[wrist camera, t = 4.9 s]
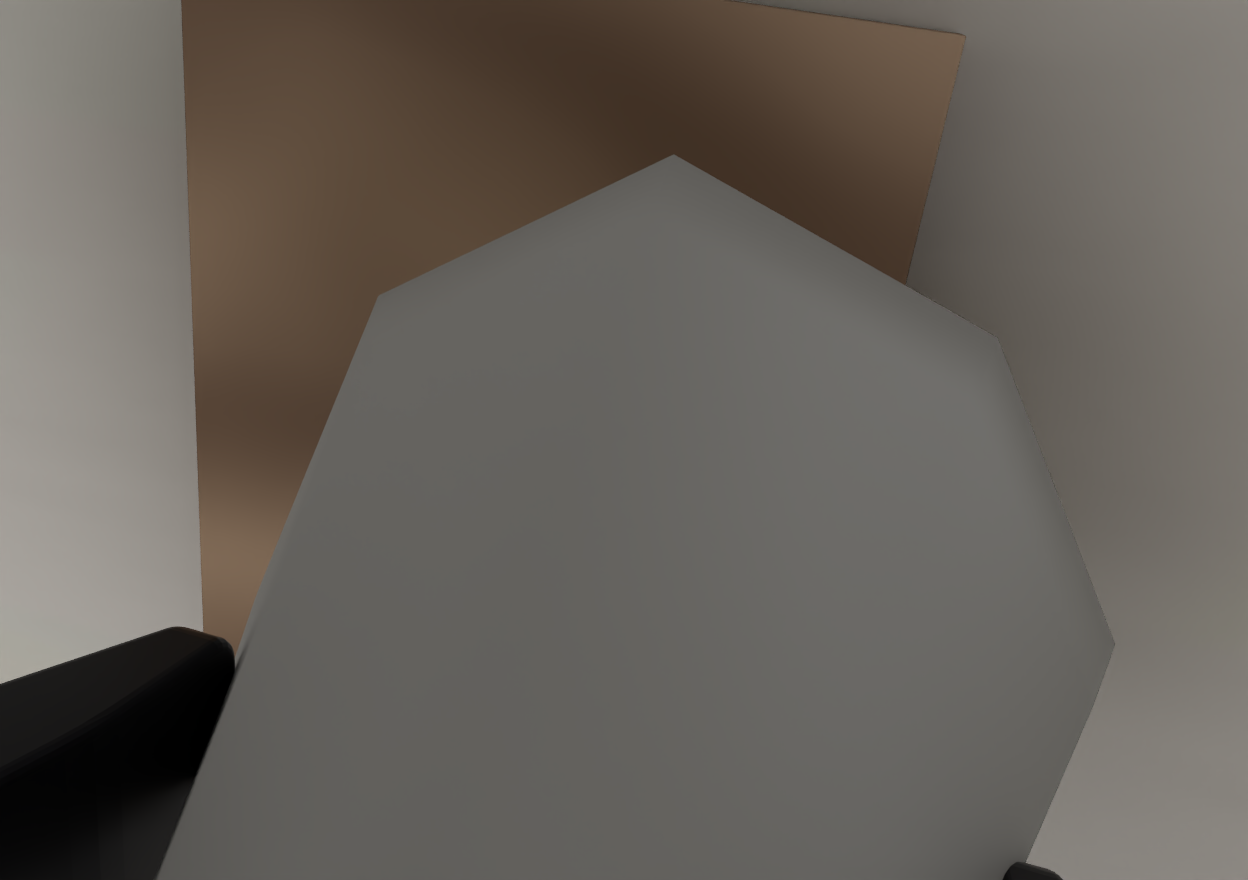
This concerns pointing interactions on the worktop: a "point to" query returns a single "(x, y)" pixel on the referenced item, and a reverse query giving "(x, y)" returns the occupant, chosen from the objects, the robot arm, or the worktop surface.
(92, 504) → the worktop surface
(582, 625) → the flask
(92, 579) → the worktop surface
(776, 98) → the walnut board
